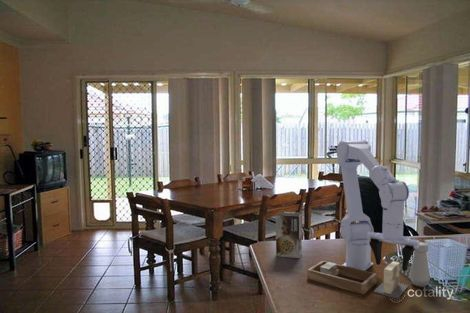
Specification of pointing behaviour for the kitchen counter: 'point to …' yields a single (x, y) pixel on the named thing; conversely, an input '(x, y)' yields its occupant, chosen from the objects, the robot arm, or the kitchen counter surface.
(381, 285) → the rubber mat
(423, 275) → the salt shaker
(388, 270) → the cream flat block
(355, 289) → the tray
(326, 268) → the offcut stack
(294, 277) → the kitchen counter surface
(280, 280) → the kitchen counter surface
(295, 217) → the coffee box
